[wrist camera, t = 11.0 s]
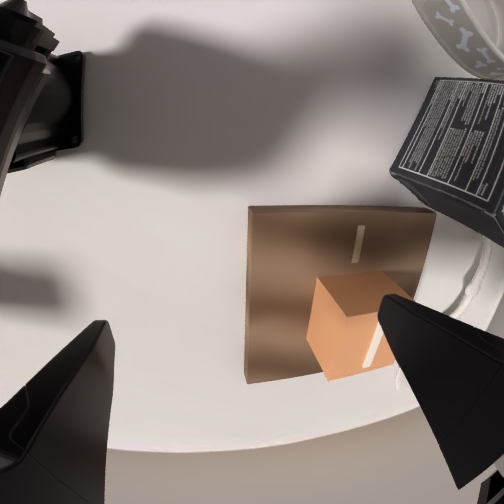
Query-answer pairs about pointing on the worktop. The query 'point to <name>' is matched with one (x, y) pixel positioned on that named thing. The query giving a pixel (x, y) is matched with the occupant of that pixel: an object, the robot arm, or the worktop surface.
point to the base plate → (318, 272)
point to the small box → (459, 153)
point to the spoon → (470, 293)
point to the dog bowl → (468, 32)
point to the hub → (350, 323)
